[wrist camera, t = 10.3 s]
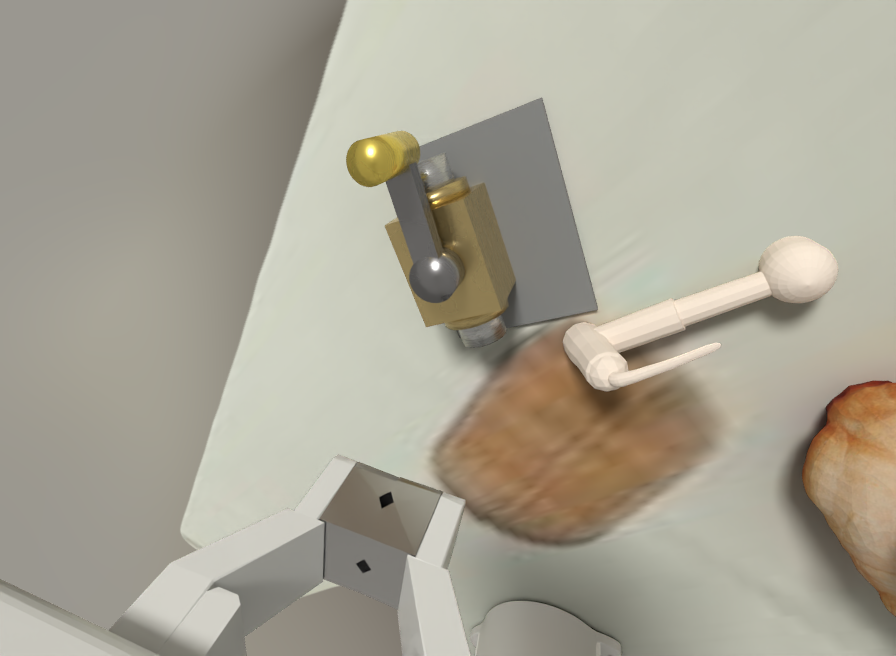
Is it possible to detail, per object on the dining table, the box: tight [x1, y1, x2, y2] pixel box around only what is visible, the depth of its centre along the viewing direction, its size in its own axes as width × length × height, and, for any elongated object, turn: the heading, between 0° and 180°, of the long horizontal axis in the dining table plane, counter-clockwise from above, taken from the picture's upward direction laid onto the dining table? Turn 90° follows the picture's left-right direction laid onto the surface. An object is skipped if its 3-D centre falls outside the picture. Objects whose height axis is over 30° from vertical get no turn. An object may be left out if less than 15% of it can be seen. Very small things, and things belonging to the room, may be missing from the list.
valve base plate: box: [419, 98, 598, 338], centre depth 37 cm, size 16×12×1 cm
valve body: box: [385, 152, 516, 348], centre depth 35 cm, size 14×6×6 cm, turn 21°
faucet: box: [563, 236, 838, 392], centre depth 33 cm, size 4×18×10 cm, turn 122°
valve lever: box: [346, 131, 465, 303], centre depth 29 cm, size 11×3×6 cm, turn 17°
